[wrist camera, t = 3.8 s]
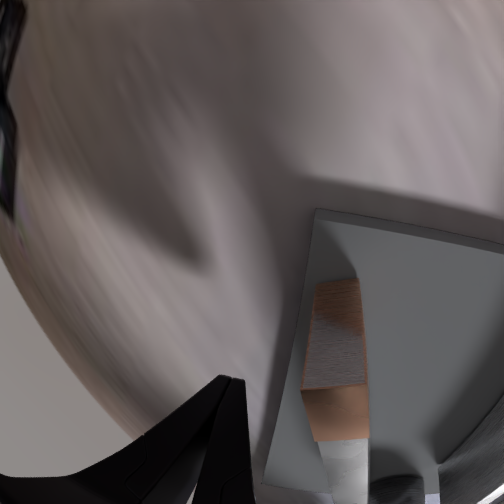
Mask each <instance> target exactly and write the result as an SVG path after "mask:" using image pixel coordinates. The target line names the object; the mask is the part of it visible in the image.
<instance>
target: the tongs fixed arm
mask: <svg viewBox="0 0 504 504" xmlns="http://www.w3.org/2000/svg"><path fill="white" fill-rule="evenodd" d="M438 477H439V490H440V504H489V503H491V502H492V501H493V500H495V499H496V498H498V497H499V496H500V495H502V494H503V493H504V395H503V396H502V398H501V399H500V400H499V402H498V403H497V404H496V405H495V407H494V408H493V409H492V411H491V412H490V413H489V414H488V415H487V417H486V418H485V419H484V420H483V421H482V423H481V424H480V425H479V426H478V427H477V428H476V429H475V431H474V432H473V433H472V434H471V435H470V436H469V437H468V438H467V439H466V440H465V442H464V443H463V444H462V445H461V446H460V447H459V448H458V449H457V450H456V451H455V452H454V453H453V454H452V455H451V456H450V457H449V458H448V459H447V460H446V461H445V462H444V463H443V464H442V465H441V466H439V467H438Z"/></svg>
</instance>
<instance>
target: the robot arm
mask: <svg viewBox="0 0 504 504" xmlns="http://www.w3.org/2000/svg"><path fill="white" fill-rule="evenodd" d="M197 481H198V482H197ZM196 483H197V486H196V489H195V493H194V497H193V500H192V504H257V503H256V498H255V493H254V486H253V478H252V469H251V454H250V441H249V428H248V414H247V400H246V386H245V380H243V379H239V378H232V377H230V376H226V375H218V376H217V377H216V378H214V379H213V380H212V381H211V382H210V383H208V384H207V385H206V386H205V387H203V388H202V389H201V390H200V391H199V392H197V393H196V394H195V395H194V396H192V397H191V398H190V399H189V400H187V401H186V402H185V403H184V404H182V405H181V406H180V407H178V408H177V409H176V410H175V411H173V412H172V413H171V414H169V415H168V416H167V417H166V418H164V419H163V420H162V421H160V422H159V423H158V424H156V425H155V426H154V427H152V428H151V429H150V430H148V431H147V432H146V433H144V435H142V436H140V437H139V438H138V439H136V440H135V441H133V442H132V443H131V444H129V445H128V446H126V447H125V448H123V449H122V450H120V451H118V452H116V453H114V454H113V455H111V456H109V457H107V458H105V459H103V460H102V461H100V462H98V463H96V464H94V465H92V466H90V467H88V468H86V469H84V470H81V471H79V472H77V473H74V474H71V475H68V476H61V477H33V478H32V477H9V476H5V475H3V474H0V504H186V503H187V501H188V499H189V497H190V495H191V493H192V491H193V489H194V487H195V485H196Z"/></svg>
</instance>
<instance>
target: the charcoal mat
mask: <svg viewBox="0 0 504 504" xmlns="http://www.w3.org/2000/svg"><path fill="white" fill-rule="evenodd" d="M353 278H359V281H360V289H361V296H362V304H363V313H364V322H365V332H366V345H367V360H368V380H369V409H370V484H372V483H375V482H378V481H381V480H384V479H389V478H394V477H402V476H415V477H420V478H422V479H423V480H424V487H425V494H436V493H440V490H439V477H438V467H439V466H441V465H442V464H443V463H444V462H445V461H446V460H447V459H448V458H449V457H450V456H451V455H452V454H453V453H454V452H455V451H456V450H457V449H458V448H459V447H460V446H461V445H462V444H463V443H464V442H465V440H466V439H467V438H468V437H469V436H470V435H471V434H472V433H473V432H474V431H475V429H476V428H477V427H478V426H479V425H480V424H481V423H482V421H483V420H484V419H485V418H486V417H487V415H488V414H489V413H490V412H491V411H492V409H493V408H494V407H495V405H496V404H497V403H498V402H499V400H500V399H501V398H502V396H503V395H504V245H502V244H498V243H494V242H489V241H485V240H481V239H476V238H472V237H467V236H463V235H458V234H454V233H449V232H444V231H440V230H435V229H430V228H425V227H420V226H415V225H410V224H404V223H399V222H394V221H388V220H383V219H377V218H372V217H366V216H360V215H354V214H349V213H342V212H336V211H330V210H324V209H317V208H316V210H315V216H314V222H313V229H312V236H311V243H310V250H309V256H308V262H307V269H306V275H305V281H304V287H303V293H302V299H301V304H300V310H299V315H298V321H297V326H296V332H295V337H294V342H293V347H292V352H291V357H290V362H289V367H288V372H287V377H286V382H285V386H284V391H283V395H282V400H281V405H280V409H279V413H278V418H277V422H276V426H275V431H274V435H273V439H272V443H271V447H270V451H269V455H268V459H267V463H266V467H265V471H264V475H263V478H262V482H261V484H265V485H271V486H276V487H282V488H288V489H295V490H302V491H310V492H318V493H328V494H331V490H330V487H329V483H328V479H327V475H326V472H325V468H324V464H323V460H322V457H321V453H320V449H319V446H318V442H315V441H314V438H313V434H312V431H311V427H310V424H309V420H308V417H307V413H306V410H305V406H304V403H303V399H302V396H301V392H300V387H301V381H302V376H303V370H304V364H305V357H306V351H307V345H308V338H309V331H310V324H311V317H312V310H313V302H314V295H315V287H316V284H320V283H327V282H333V281H340V280H347V279H353Z"/></svg>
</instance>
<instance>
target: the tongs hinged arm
mask: <svg viewBox="0 0 504 504" xmlns="http://www.w3.org/2000/svg"><path fill="white" fill-rule="evenodd" d="M300 392H301V396H302V399H303V403H304V406H305V410H306V413H307V417H308V420H309V424H310V427H311V431H312V434H313V438H314V441H315V442H318V446H319V449H320V453H321V457H322V460H323V464H324V468H325V472H326V475H327V479H328V483H329V487H330V490H331V494H332V498H333V502H334V504H425V487H424V480H423V479H422V478H420V477H415V476H402V477H394V478H389V479H384V480H381V481H378V482H375V483H372V484H370V409H369V380H368V360H367V345H366V332H365V322H364V313H363V304H362V296H361V289H360V281H359V278H353V279H347V280H340V281H333V282H327V283H320V284H316V287H315V295H314V302H313V310H312V317H311V324H310V331H309V338H308V345H307V351H306V357H305V364H304V370H303V376H302V381H301V387H300Z"/></svg>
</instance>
